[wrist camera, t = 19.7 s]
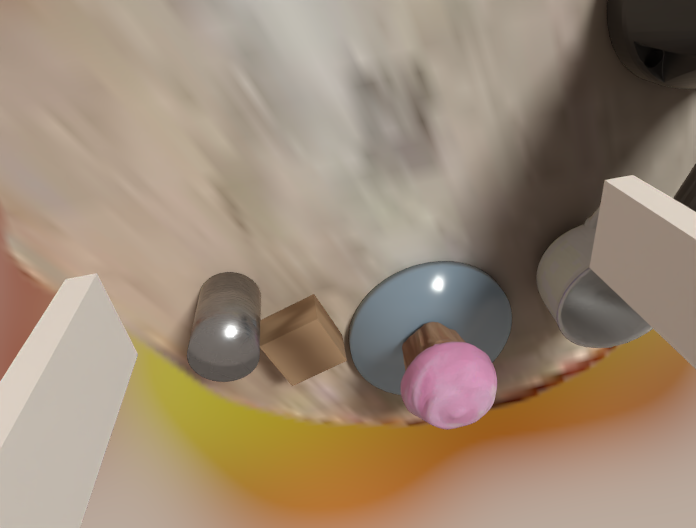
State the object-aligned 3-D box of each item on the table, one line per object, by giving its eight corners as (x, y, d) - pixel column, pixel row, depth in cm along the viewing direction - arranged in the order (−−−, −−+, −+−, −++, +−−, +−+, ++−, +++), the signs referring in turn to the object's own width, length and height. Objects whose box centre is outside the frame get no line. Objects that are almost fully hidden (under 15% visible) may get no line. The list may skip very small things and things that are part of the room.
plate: (514, 249, 46) (519, 255, 45) (500, 374, 56) (504, 381, 55) (340, 276, 45) (342, 283, 44) (355, 399, 55) (357, 407, 54)
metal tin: (254, 268, 44) (251, 323, 37) (265, 316, 47) (265, 375, 40) (192, 277, 43) (178, 335, 37) (207, 325, 46) (197, 386, 40)
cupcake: (371, 351, 49) (392, 431, 41) (423, 290, 46) (457, 363, 38) (435, 379, 53) (467, 458, 44) (488, 324, 50) (533, 398, 41)
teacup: (607, 296, 52) (658, 346, 45) (511, 304, 50) (548, 357, 44) (652, 173, 44) (720, 211, 37) (541, 178, 43) (591, 219, 36)
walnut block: (313, 292, 46) (317, 318, 43) (341, 333, 49) (346, 360, 46) (260, 319, 47) (259, 346, 44) (290, 357, 50) (292, 386, 47)
